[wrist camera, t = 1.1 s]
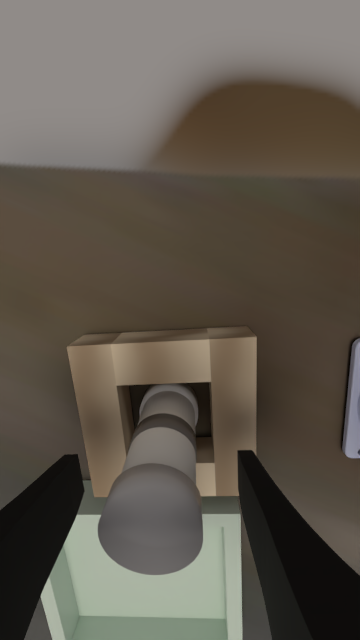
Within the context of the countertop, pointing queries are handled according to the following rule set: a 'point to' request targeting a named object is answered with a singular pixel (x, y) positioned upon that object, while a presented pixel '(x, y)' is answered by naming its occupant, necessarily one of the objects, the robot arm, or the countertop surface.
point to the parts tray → (147, 584)
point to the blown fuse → (157, 488)
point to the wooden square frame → (164, 368)
